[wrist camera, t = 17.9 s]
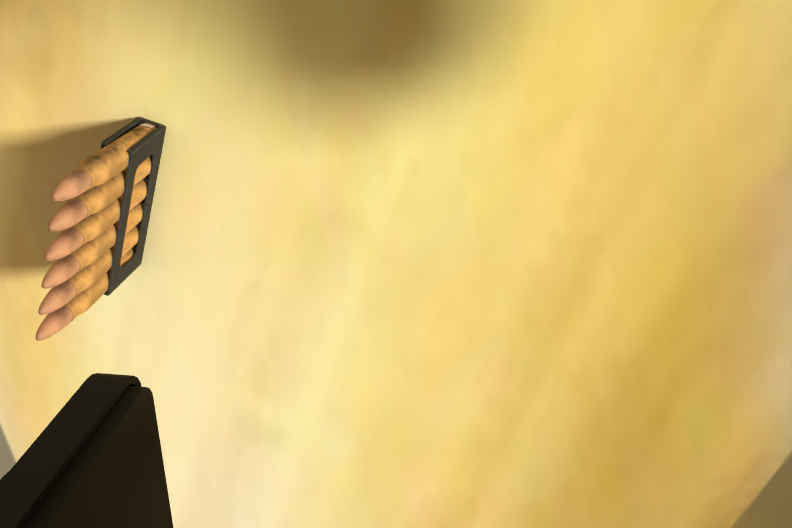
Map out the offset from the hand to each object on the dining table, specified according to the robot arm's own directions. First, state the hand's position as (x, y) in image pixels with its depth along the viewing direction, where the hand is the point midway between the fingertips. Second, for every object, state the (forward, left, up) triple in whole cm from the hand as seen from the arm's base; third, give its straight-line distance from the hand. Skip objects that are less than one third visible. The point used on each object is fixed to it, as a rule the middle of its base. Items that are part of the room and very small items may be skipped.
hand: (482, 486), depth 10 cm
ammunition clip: (+22, +10, -37) cm, 44 cm away
